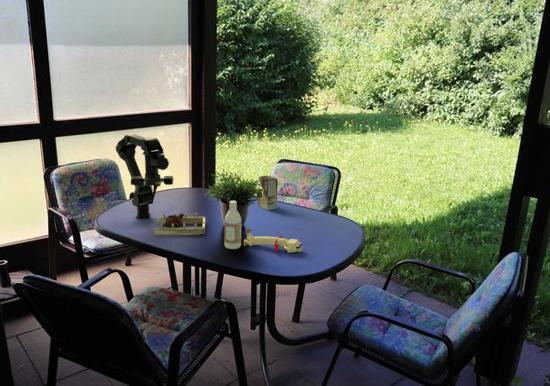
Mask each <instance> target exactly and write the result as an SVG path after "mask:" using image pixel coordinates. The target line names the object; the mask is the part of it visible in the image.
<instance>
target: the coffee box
mask: <svg viewBox="0 0 550 386" xmlns="http://www.w3.org/2000/svg"><path fill="white" fill-rule="evenodd" d="M258 181H260V185H261V187H262V188H263V190H264V191H263V196H262V197H261V198H258V197H257V200H258V201H257V202H258V203H257V206H258V207H260V208H262V209H264V210H265V211H270V210H271V211H272V210H276V209H277V208H278V205H277V204H278V179H277V178H275V177H273V176H270V175H261V176H258Z"/></svg>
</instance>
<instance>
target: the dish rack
mask: <svg viewBox="0 0 550 386" xmlns="http://www.w3.org/2000/svg"><path fill="white" fill-rule="evenodd" d="M173 215H176V216H177V212H174V213H173ZM198 215H199V214H198V212H195V216H188V214H187V212H185V213H184V217H183V218H181V221H182V223H181V224H180V225H182V226H183V227H178V228H174V224H172V228H167V227H162V226H163V225H164V223H165V222H166V217H167V216H166V213H165V212H164V213H163V215H162V217H161V216H158V217H157V224H158V225H159V227H156V228H153V229H154V233H153V235H154V236H195V235H196V236H197V235H198V236H200V235H199V234H203V235H202V236H204V234H205V235H206V216H198ZM194 223H195V224H194ZM186 224H191V225H192V224H193V225H194V227H186ZM198 224H202V227H198V226H197V225H198Z"/></svg>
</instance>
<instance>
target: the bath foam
mask: <svg viewBox="0 0 550 386" xmlns="http://www.w3.org/2000/svg"><path fill="white" fill-rule="evenodd" d="M237 203H238V202H237V201H236V200H230V201H229V209H228V211H227V213H226V215H225V217H224V247H225V249H229V250H237V249H239V248H241V246H242V216H241V215H240V213H239V211H238V210H237V208H238V206H237V205H238V204H237Z"/></svg>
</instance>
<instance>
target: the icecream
mask: <svg viewBox="0 0 550 386" xmlns="http://www.w3.org/2000/svg"><path fill="white" fill-rule="evenodd" d="M165 217H166V222H165V223H164V224H162V228H172V224H174V228H180V226H181V225H182V224H181V223H182V221H181V218H183V217H185V213H183V212H182V213H179V214H178V215H177V214H176V215H174V214H171V215H168V216H165Z"/></svg>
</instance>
